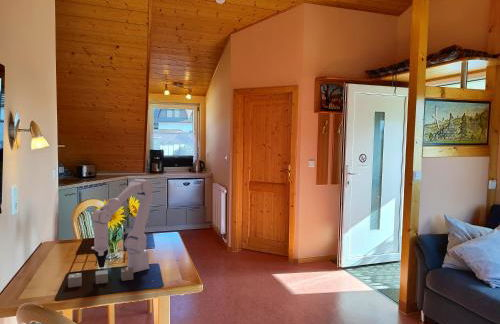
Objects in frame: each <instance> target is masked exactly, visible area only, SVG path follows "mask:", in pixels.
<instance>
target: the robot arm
mask: <svg viewBox="0 0 500 324" xmlns="http://www.w3.org/2000/svg"><path fill="white" fill-rule="evenodd" d="M154 187H155V186H154V184H153V181H152V180H149V179H142V178H141V179H140V178H134V179H132V180H131V181H129V182H128V185H127V186H126V187H125V188H124V189H123V191H121V192H120V193H119V194H118V196H117V197H113V198H112V197H111V198H109V199H108V201H107V202H106V203H104V205H102V206H100V208H99V209H95V210H94V211H93V213H92V214H91V216H90V219H91V221H92V223H93V226H94V227H93V238H94V239H93V243H94V246H91V250H93V251H94V256H95V258H96V261H97V265H98V268H99V269H100V268H105V265H106V260H107V256H108V254H109V248H110V246H109V222H111V219H112V217H113V215H114V214H115V213H116V212H118V211H119V209H121V208H122V204H123V203H124V202H125V201H126V200H128V199H129V198H130V197H132V195H134V194H136V195H137V196H138V197H139V204H138V207H137V212H136V215H135V219H134V224H133V227H132V230H131V231H129V233H127V237H126V239H125V240H124V244H123V245H124V248H125V249H126V252H127V267H125V268H129V267H133V274H134V273H136V272H141V271H145V270H149V269H150V265H149V262H150V256H149V252H148V250H147V249H146V247H147V238H148V237H147V235H146V234H145V230H146V229H145V228H146V225H147V221H148V218H149V213H150V210H151V206H152V202H153V197H154V195H153V192H154Z"/></svg>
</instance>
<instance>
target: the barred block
mask: <svg viewBox="0 0 500 324" xmlns="http://www.w3.org/2000/svg"><path fill="white" fill-rule="evenodd" d="M120 274H121V275H120V278H121V281H122V282H123V281H131V280H134V273H133V267H129V268H126V267H122V268H120Z"/></svg>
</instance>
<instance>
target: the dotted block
mask: <svg viewBox="0 0 500 324" xmlns="http://www.w3.org/2000/svg"><path fill="white" fill-rule="evenodd" d="M82 280H83V279H82V272H78V273H71V274H70V273H69V274H68V277H67V288H69V289H70V288H76V287H81V286H82V283H83V281H82Z"/></svg>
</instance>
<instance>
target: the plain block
mask: <svg viewBox="0 0 500 324" xmlns="http://www.w3.org/2000/svg"><path fill="white" fill-rule="evenodd" d="M108 271H109V270H108V269H104V270H96V271H95V285H99V284H100V283H101V284H107V283H109V272H108Z"/></svg>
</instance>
